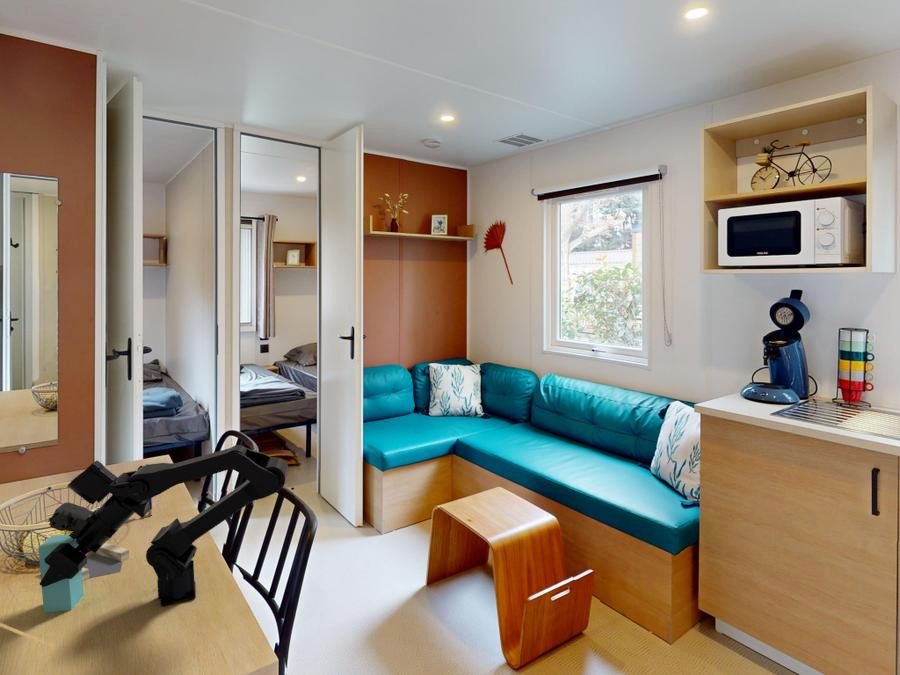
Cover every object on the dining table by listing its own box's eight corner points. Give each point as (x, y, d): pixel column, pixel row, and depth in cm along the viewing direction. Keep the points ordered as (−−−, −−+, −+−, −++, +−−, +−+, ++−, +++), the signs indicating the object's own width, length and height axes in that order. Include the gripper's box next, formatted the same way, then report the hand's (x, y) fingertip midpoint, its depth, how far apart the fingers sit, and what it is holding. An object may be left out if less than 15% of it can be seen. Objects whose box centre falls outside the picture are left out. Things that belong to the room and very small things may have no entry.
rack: (129, 557, 129) (128, 549, 129) (80, 582, 118) (79, 573, 118) (98, 548, 133) (98, 540, 133) (48, 571, 123) (47, 563, 122)
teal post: (83, 597, 113) (79, 533, 112) (71, 611, 109) (66, 545, 107) (57, 599, 113) (52, 535, 111) (44, 614, 108) (38, 547, 106)
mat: (125, 549, 133) (125, 548, 133) (120, 573, 123) (120, 571, 122) (66, 560, 128) (66, 559, 128) (56, 586, 117) (55, 584, 117)
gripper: (99, 475, 118) (46, 527, 117) (52, 511, 100) (-11, 573, 99) (140, 507, 120) (89, 558, 119) (102, 548, 102) (41, 609, 101)
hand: (54, 572), depth 110 cm, fingers open, 9 cm apart
